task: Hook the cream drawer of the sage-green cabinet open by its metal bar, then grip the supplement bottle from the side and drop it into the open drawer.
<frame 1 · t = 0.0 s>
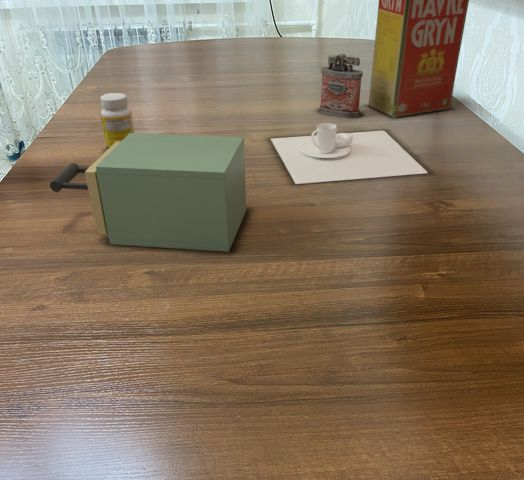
teacup and saucer: (343, 155, 96), on the table
lighter: (339, 114, 114), on the table
food packaging: (409, 108, 116), on the table
drawer: (136, 188, 74), point 5 cm above the table, slide at 0.5 cm
cabinet: (181, 226, 77), on the table
supplement bottle: (122, 151, 99), on the table
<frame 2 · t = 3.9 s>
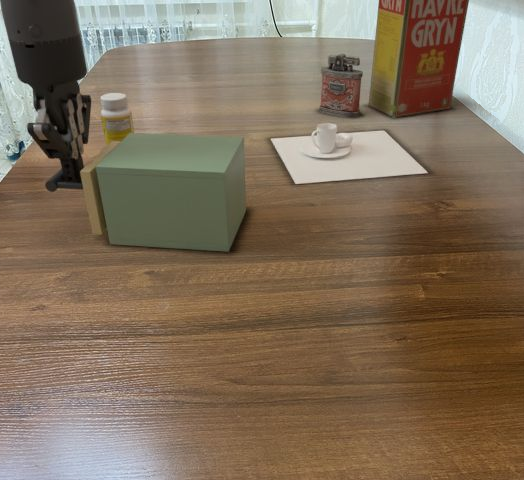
hand: (76, 186, 76), 5 cm above the table, tool pointing down, fingers closed
drawer: (131, 187, 74), point 5 cm above the table, slide at 1.1 cm, touching gripper
everything else where it was.
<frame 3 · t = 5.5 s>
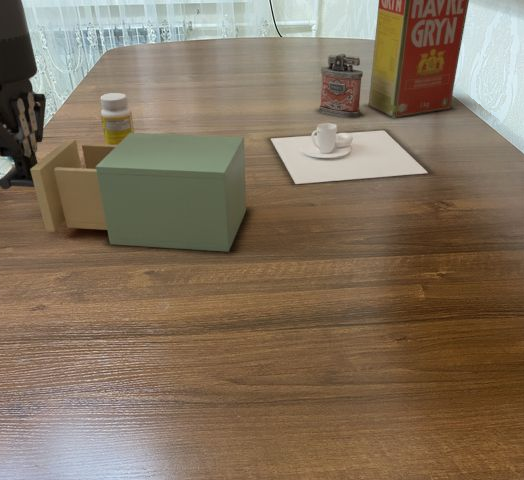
hand: (31, 183, 76), 5 cm above the table, tool pointing down, fingers closed
drawer: (85, 185, 75), point 5 cm above the table, slide at 7.1 cm
everything else where it was.
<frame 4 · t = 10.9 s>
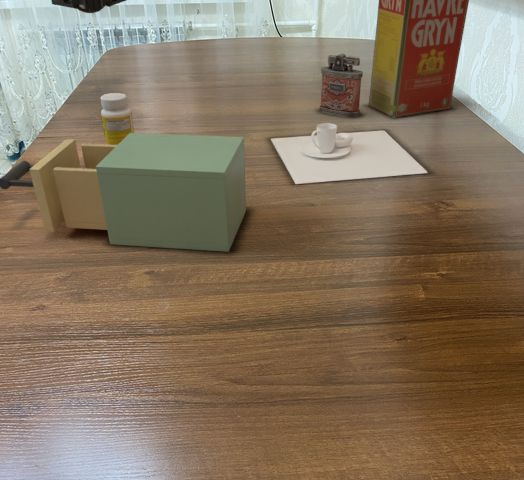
hand: (93, 4, 93), 20 cm above the table, tool horizontal, fingers closed
nothing on the table moved.
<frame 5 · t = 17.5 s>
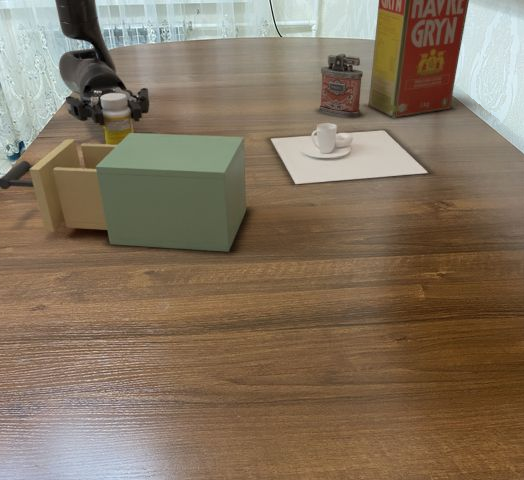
hand: (119, 116, 94), 6 cm above the table, tool horizontal, fingers closed on supplement bottle, 4 cm apart
supplement bottle: (122, 151, 99), on the table, touching gripper
everything else where it was.
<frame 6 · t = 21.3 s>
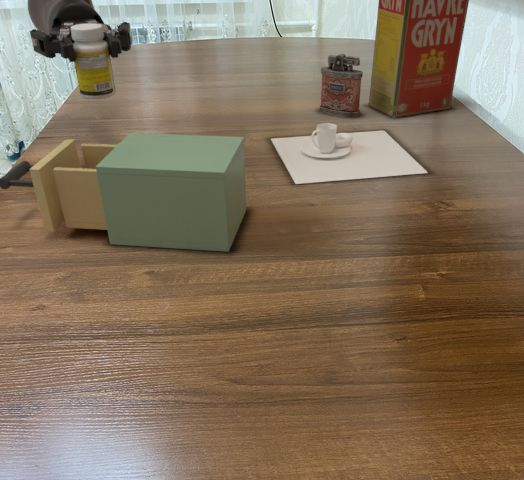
hand: (93, 50, 77), 18 cm above the table, tool horizontal, fingers closed on supplement bottle, 4 cm apart
supplement bottle: (98, 96, 83), point 12 cm above the table, touching gripper
everything else where it was.
when the fingers open (11 cm above the table, at t = 25.6 s): supplement bottle drops 3 cm, resting on drawer.
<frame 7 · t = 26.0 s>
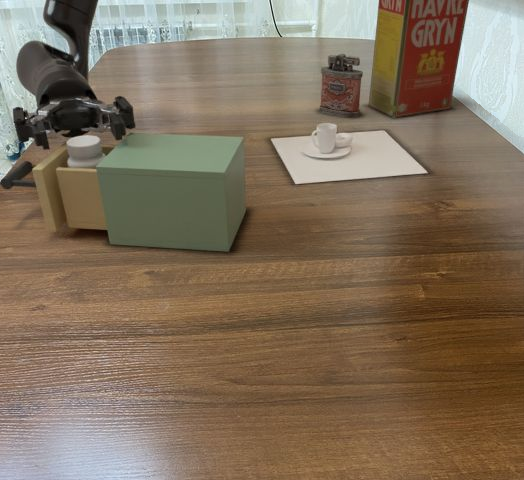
hand: (82, 136, 70), 12 cm above the table, tool horizontal, fingers open, 8 cm apart
drawer: (87, 185, 75), point 5 cm above the table, slide at 6.9 cm, touching supplement bottle
supplement bottle: (96, 208, 77), point 2 cm above the table, touching drawer
everything else where it was.
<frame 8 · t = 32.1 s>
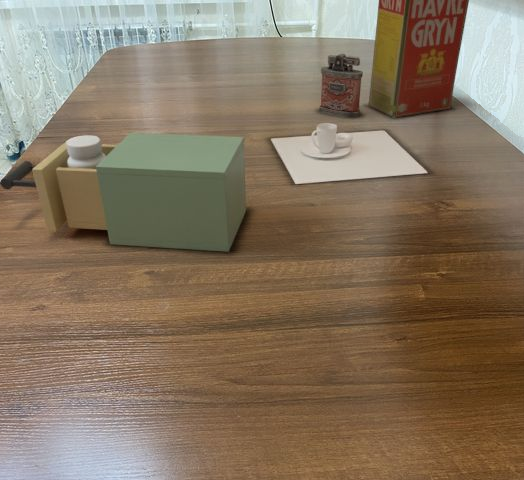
nothing on the table moved.
at the end: drawer slide at 6.9 cm; supplement bottle inside the target area in the drawer (2.7 cm from its centre), point 1.8 cm above the cabinet's base; the gripper is holding nothing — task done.
